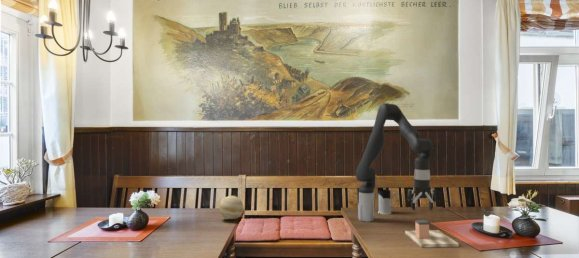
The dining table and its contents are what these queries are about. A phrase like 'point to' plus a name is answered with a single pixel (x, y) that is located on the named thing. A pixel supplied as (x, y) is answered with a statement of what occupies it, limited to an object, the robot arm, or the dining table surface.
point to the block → (422, 229)
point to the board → (433, 239)
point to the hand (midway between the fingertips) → (422, 209)
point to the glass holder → (385, 201)
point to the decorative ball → (231, 207)
